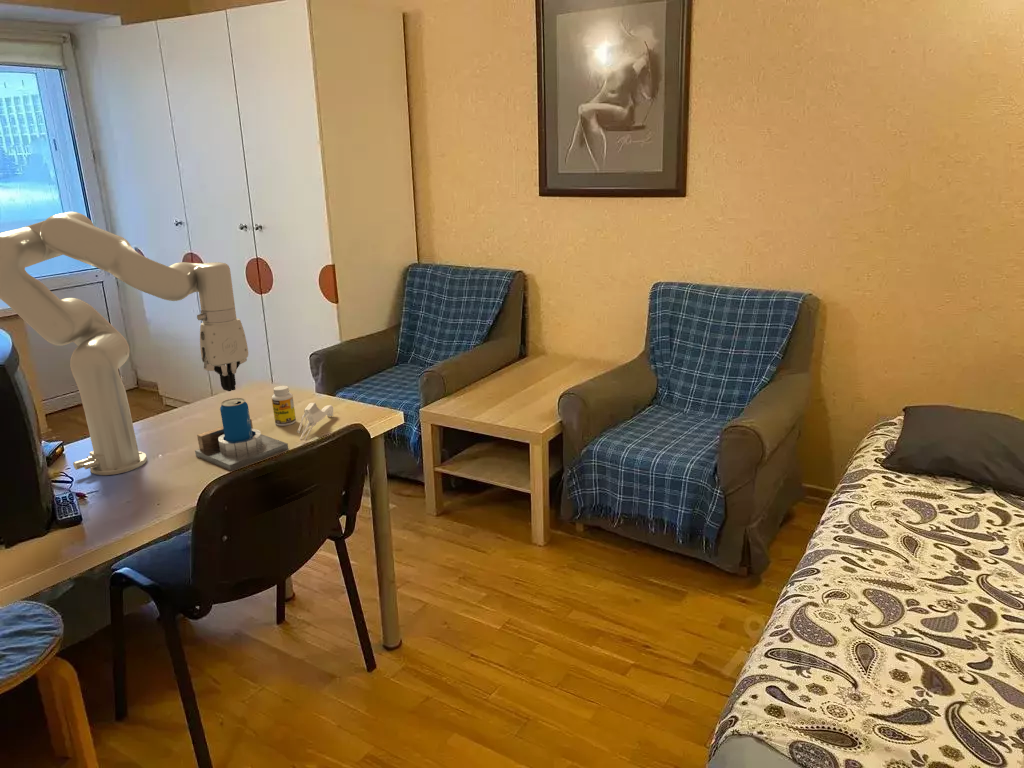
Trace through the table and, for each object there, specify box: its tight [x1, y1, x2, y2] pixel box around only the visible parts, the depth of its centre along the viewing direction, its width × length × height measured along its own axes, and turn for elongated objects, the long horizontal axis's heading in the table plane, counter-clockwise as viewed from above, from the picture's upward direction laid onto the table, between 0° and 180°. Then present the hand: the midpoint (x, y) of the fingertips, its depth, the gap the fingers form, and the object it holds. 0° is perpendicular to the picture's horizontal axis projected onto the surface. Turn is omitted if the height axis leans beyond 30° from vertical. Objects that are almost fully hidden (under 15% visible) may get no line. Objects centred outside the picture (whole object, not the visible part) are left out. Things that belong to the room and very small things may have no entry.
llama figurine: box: [296, 402, 334, 441], centre depth 207 cm, size 2×11×18 cm
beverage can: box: [219, 397, 253, 442], centre depth 191 cm, size 6×6×12 cm
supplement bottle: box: [271, 385, 297, 427], centre depth 211 cm, size 6×6×10 cm
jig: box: [194, 418, 289, 472], centre depth 192 cm, size 16×16×6 cm
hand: (229, 389), depth 188 cm, fingers closed
